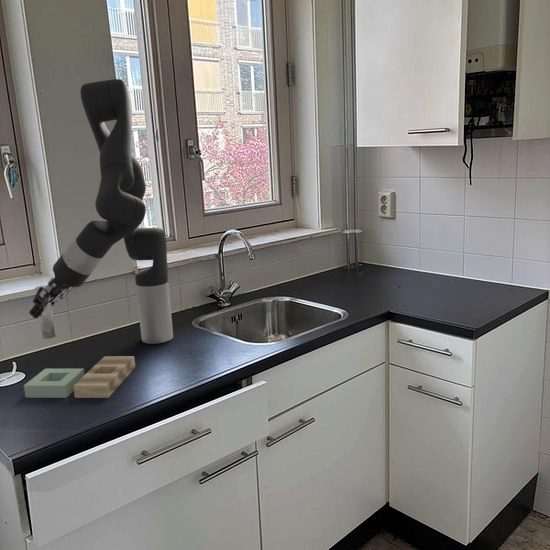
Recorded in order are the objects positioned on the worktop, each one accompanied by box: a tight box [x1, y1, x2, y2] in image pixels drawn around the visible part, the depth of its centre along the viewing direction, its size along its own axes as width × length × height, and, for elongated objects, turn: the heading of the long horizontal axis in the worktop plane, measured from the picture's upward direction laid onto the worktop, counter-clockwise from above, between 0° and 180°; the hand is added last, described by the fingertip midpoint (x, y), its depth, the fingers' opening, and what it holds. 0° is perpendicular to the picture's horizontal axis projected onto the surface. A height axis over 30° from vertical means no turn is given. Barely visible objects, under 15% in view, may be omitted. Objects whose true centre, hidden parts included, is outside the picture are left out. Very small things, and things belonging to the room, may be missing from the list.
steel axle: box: [34, 285, 57, 340], centre depth 130 cm, size 3×3×12 cm
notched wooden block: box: [73, 355, 136, 399], centre depth 136 cm, size 18×8×3 cm, turn 174°
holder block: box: [23, 368, 86, 399], centre depth 134 cm, size 10×10×3 cm
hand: (37, 313), depth 130 cm, fingers closed on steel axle, 3 cm apart
